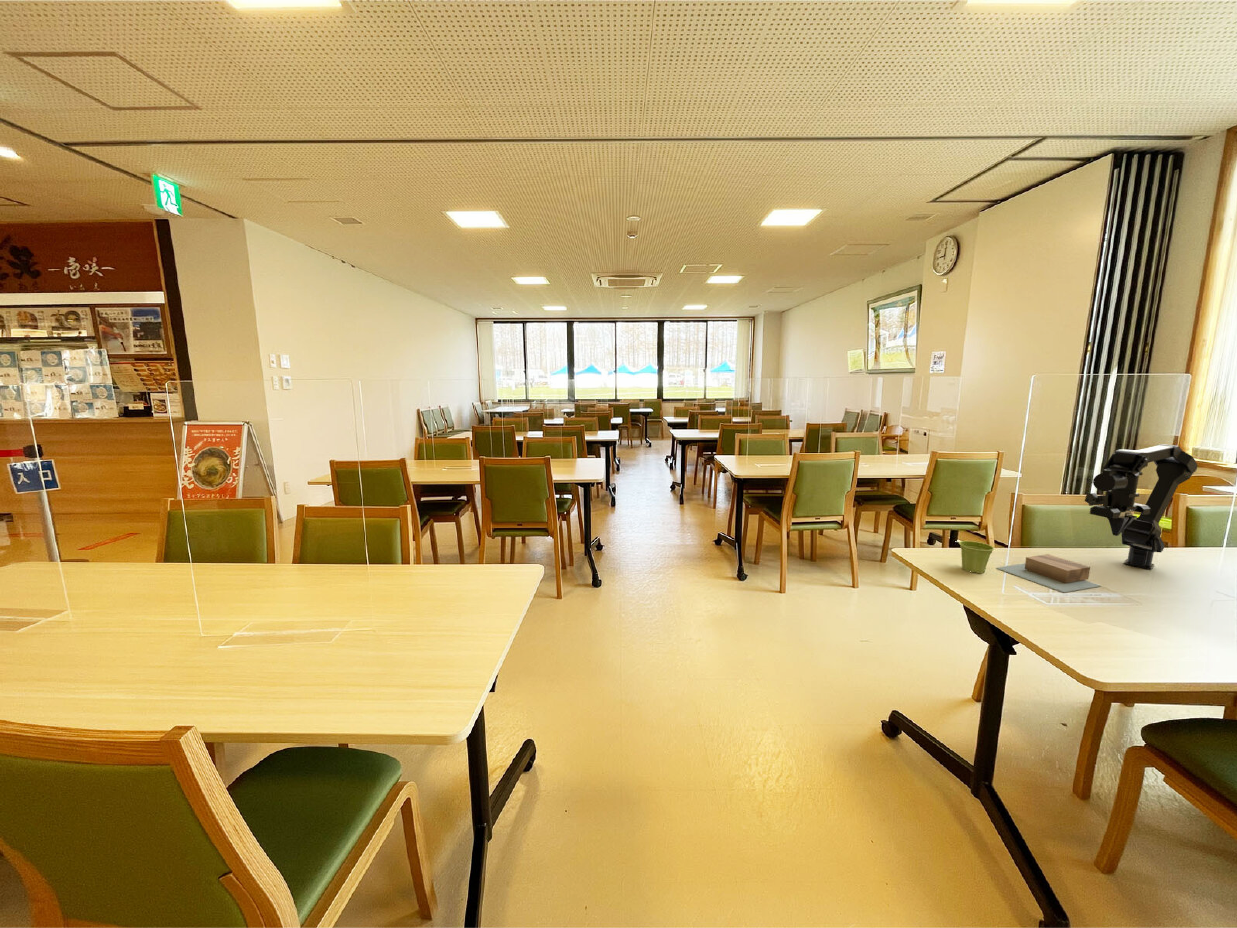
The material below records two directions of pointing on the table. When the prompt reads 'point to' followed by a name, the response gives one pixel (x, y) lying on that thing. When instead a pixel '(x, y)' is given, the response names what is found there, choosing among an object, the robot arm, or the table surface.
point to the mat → (1047, 579)
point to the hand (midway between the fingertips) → (1115, 535)
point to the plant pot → (975, 555)
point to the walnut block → (1057, 568)
